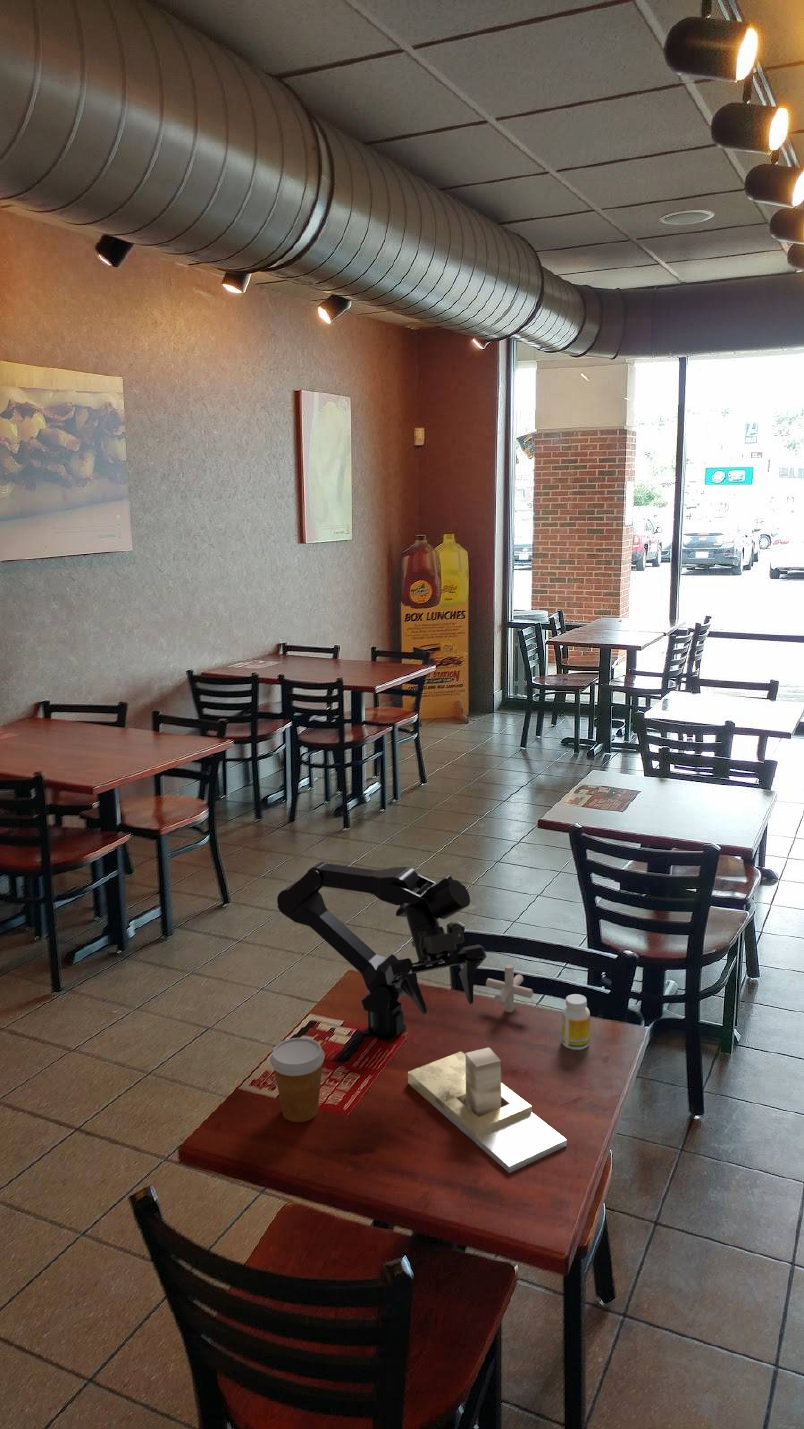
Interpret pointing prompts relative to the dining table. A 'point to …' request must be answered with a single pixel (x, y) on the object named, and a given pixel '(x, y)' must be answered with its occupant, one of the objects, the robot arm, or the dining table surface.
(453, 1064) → the plate with square hole
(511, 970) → the pipe connector
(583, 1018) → the supplement bottle
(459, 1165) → the dining table surface
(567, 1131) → the dining table surface
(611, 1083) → the dining table surface
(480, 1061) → the maple pin
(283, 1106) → the disposable coffee cup
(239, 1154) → the dining table surface
